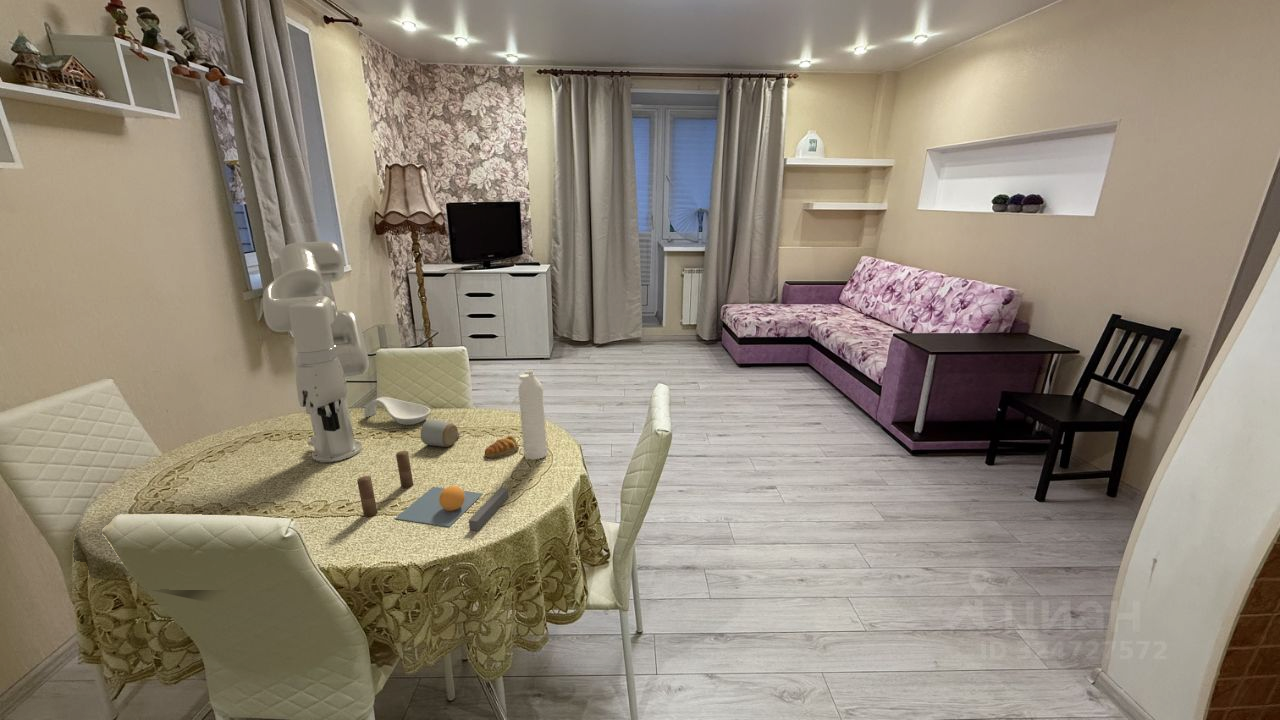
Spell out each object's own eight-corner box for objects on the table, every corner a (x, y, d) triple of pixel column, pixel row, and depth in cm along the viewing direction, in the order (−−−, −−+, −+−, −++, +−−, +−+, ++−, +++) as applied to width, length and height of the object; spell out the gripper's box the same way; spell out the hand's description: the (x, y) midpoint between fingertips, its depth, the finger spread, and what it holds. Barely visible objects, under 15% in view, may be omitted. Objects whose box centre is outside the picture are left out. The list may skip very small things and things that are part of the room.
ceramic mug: (445, 451, 151) (442, 427, 149) (421, 448, 153) (418, 424, 151) (467, 437, 161) (464, 413, 159) (444, 434, 163) (441, 411, 161)
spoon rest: (439, 417, 177) (436, 397, 174) (414, 431, 166) (411, 410, 164) (382, 410, 183) (378, 390, 181) (355, 423, 173) (351, 403, 171)
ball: (446, 519, 120) (429, 502, 120) (460, 506, 126) (444, 489, 125) (460, 507, 118) (443, 489, 118) (473, 494, 123) (457, 477, 123)
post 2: (398, 487, 132) (393, 455, 130) (406, 482, 135) (401, 450, 132) (408, 489, 132) (403, 456, 129) (415, 483, 134) (410, 451, 132)
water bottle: (528, 449, 152) (521, 366, 144) (550, 450, 151) (544, 367, 144) (518, 463, 143) (510, 376, 136) (541, 464, 143) (534, 377, 135)
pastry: (492, 462, 145) (491, 449, 144) (479, 455, 149) (478, 442, 148) (521, 450, 151) (520, 438, 150) (508, 444, 156) (507, 432, 155)
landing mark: (395, 519, 119) (394, 518, 119) (432, 487, 132) (432, 486, 132) (449, 527, 116) (449, 526, 116) (482, 494, 129) (482, 493, 129)
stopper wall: (469, 530, 114) (468, 520, 114) (501, 496, 127) (500, 487, 127) (478, 531, 114) (476, 521, 113) (508, 497, 127) (507, 488, 126)
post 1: (361, 516, 120) (354, 481, 118) (369, 509, 123) (363, 475, 120) (371, 518, 120) (364, 482, 117) (380, 511, 122) (373, 476, 120)
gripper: (329, 346, 128) (343, 416, 133) (274, 364, 114) (292, 441, 119) (355, 348, 126) (368, 418, 131) (303, 366, 112) (319, 444, 118)
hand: (332, 429), depth 125 cm, fingers closed
